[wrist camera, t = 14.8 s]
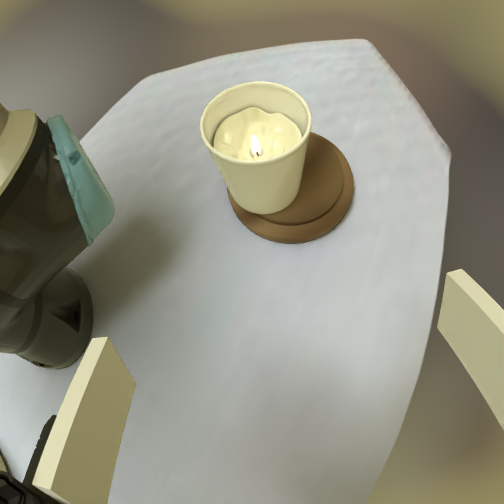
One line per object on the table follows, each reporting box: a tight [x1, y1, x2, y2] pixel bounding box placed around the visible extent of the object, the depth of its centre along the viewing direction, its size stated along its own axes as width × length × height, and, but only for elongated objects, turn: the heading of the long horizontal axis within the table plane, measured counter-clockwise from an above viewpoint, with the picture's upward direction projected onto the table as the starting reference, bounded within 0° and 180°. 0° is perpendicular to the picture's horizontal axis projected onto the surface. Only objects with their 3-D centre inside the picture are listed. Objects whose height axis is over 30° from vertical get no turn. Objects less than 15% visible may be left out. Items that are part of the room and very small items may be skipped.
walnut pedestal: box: [227, 132, 353, 244], centre depth 39 cm, size 16×16×4 cm
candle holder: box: [200, 81, 312, 214], centre depth 31 cm, size 10×10×12 cm
